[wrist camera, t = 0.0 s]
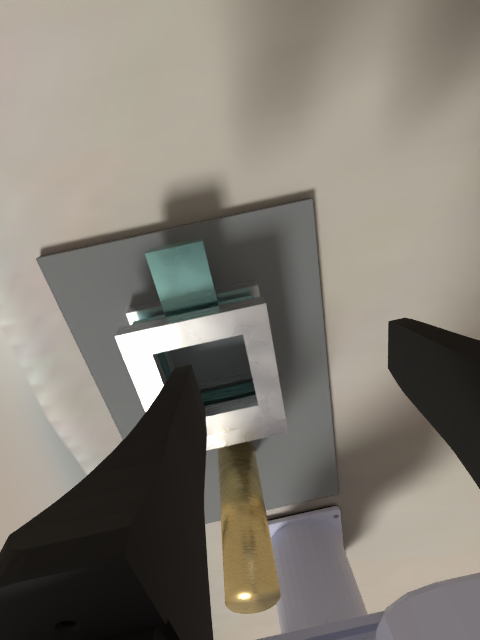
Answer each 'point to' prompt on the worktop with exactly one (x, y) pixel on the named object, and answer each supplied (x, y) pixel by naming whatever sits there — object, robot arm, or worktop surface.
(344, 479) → the worktop surface
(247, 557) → the pin
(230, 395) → the grey teal hollow block
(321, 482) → the mat
